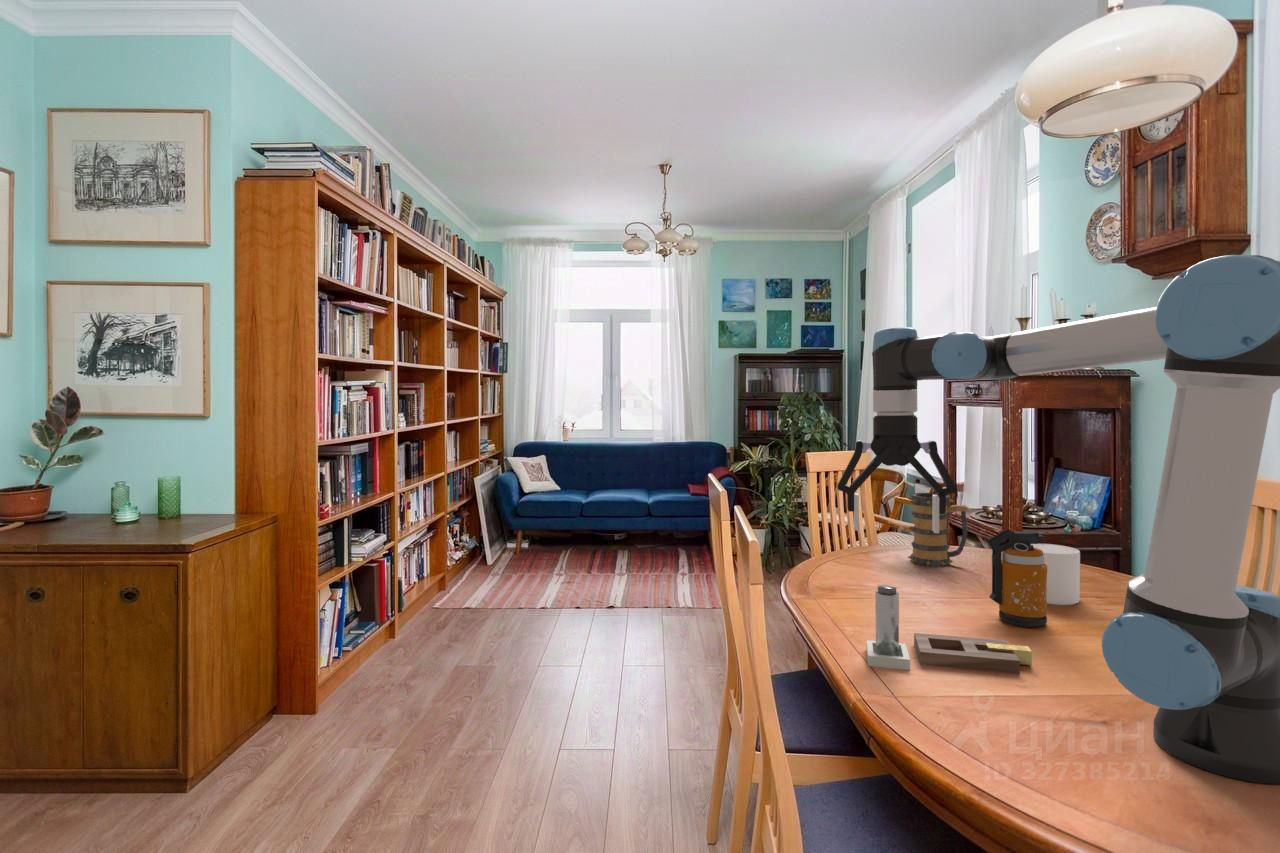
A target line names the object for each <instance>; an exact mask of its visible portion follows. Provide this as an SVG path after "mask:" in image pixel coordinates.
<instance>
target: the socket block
mask: <svg viewBox="0 0 1280 853" xmlns="http://www.w3.org/2000/svg"><path fill="white" fill-rule="evenodd" d="M913 638H914V639H913V646H914V648H915V652H916V656H917V658H918V661H919V664H920V665H921V666H930V667H931V666H932V667H943V668H952V669H960V670H963V669H964V670H972V671H973V670H975V671H983V672H994V673H995V672H997V673H1005V674H1014V675H1015V674H1017V675H1020V674H1021V664H1020V660H1019V659H1018V657H1017V656H1016V654H1015V653H1006V652H995V651H985V646H986V643H992V644H1004V645H1010V644H1009V643H1008V641H1007V639H1006V640H1002V639H995V638H994V639H992V638H991V639H990V638H981V637H979V638H978V637H967V636H956V635H955V636H954V635H943V634H940V635H939V634H929V633H920V632H919V633H917V632H915V633H913Z"/></svg>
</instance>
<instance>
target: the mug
mask: <svg viewBox="0 0 1280 853" xmlns="http://www.w3.org/2000/svg"><path fill="white" fill-rule="evenodd" d="M932 495H937V492H915V493H914V492H913V493H911V494H910V496H909V497H907V498H906V499H908V500H909V501H910V503H911V505H912V511H911V515H912V516H913V524H914V525H913V528H912V529H911V530H912V531H913V532H914V534H913V535H914V537H913V541H912V542H911V547H912V553H911V554H910V555H908V556H907V558H909V559H910V561H911V563H913V564H915V565H919V566H923V567H931V568H932V567H934V568H940V567H947V566H950V564H951V563H953V562H955V561H954V560H952V559H950V558H952V557H957V556H960V555H961V553H962V552H963V549H964V547H965V545H966V542H967V537H968V523H967V512H969V511H971V510H972V508H970V507H969V506H967V505H965V504H953V505H951V503H953V502H954V500H953V499H952V498H951V496H950V494H948V495H947V496H946V512H945V514H939V533H934V532H933V530H932ZM952 512H960V514H961V520H960V521H961V526H962V537H961V541H960V543H959V546H958V547H957V549H955V550H949V549H950V547H951V546H950V545H949V544H948V540H947V539H948V537H947V535H948V532H949V529H948V528H947V524H948V522H947V521H948V518H950V516H951V515H950V514H949V513H952Z"/></svg>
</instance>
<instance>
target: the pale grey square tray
mask: <svg viewBox="0 0 1280 853" xmlns="http://www.w3.org/2000/svg"><path fill="white" fill-rule="evenodd" d="M866 658H867V666H868V667H874V668H875V667H876V668H885V669H894V670H895V669H896V670H907V671H911V658H910V655H909V651H908V648H907V644H906V643H904V642H903V643H902V642H899V657H898V656H887V655H876V640H869V639H868V640H866Z"/></svg>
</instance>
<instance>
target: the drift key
mask: <svg viewBox="0 0 1280 853" xmlns="http://www.w3.org/2000/svg"><path fill="white" fill-rule="evenodd" d="M985 651H995V652H1006V653H1015V654H1016V656H1017V657H1018V659H1019V660H1020V665H1025V666H1033V651H1032V649H1031V648H1030V647H1029V646H1026V645H1017V644H1016V645H1014V644H1009V645H1004V644H992V643H986V646H985Z"/></svg>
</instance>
